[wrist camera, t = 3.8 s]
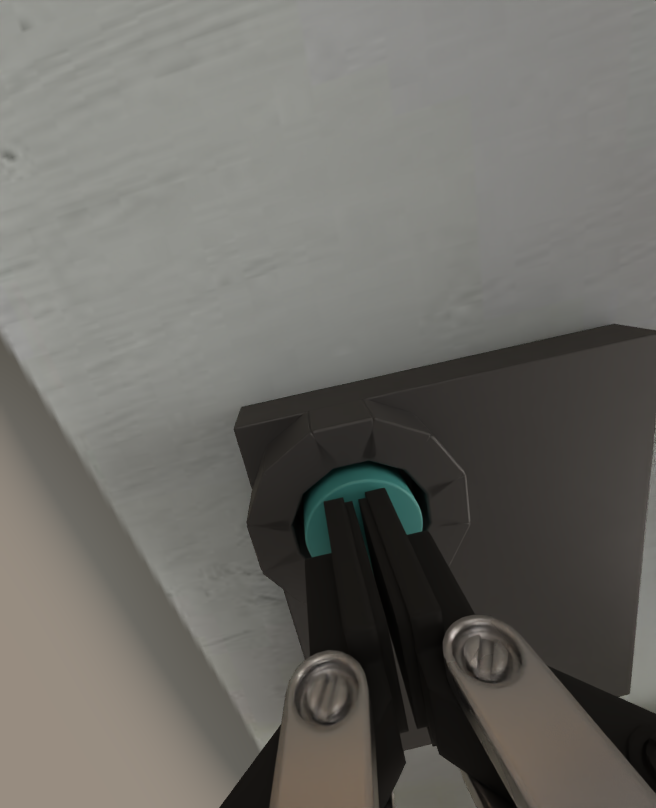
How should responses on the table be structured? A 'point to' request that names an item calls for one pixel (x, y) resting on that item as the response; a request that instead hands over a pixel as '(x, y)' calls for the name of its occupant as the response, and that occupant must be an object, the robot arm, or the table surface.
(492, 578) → the button panel
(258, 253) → the table surface
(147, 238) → the table surface
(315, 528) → the button
